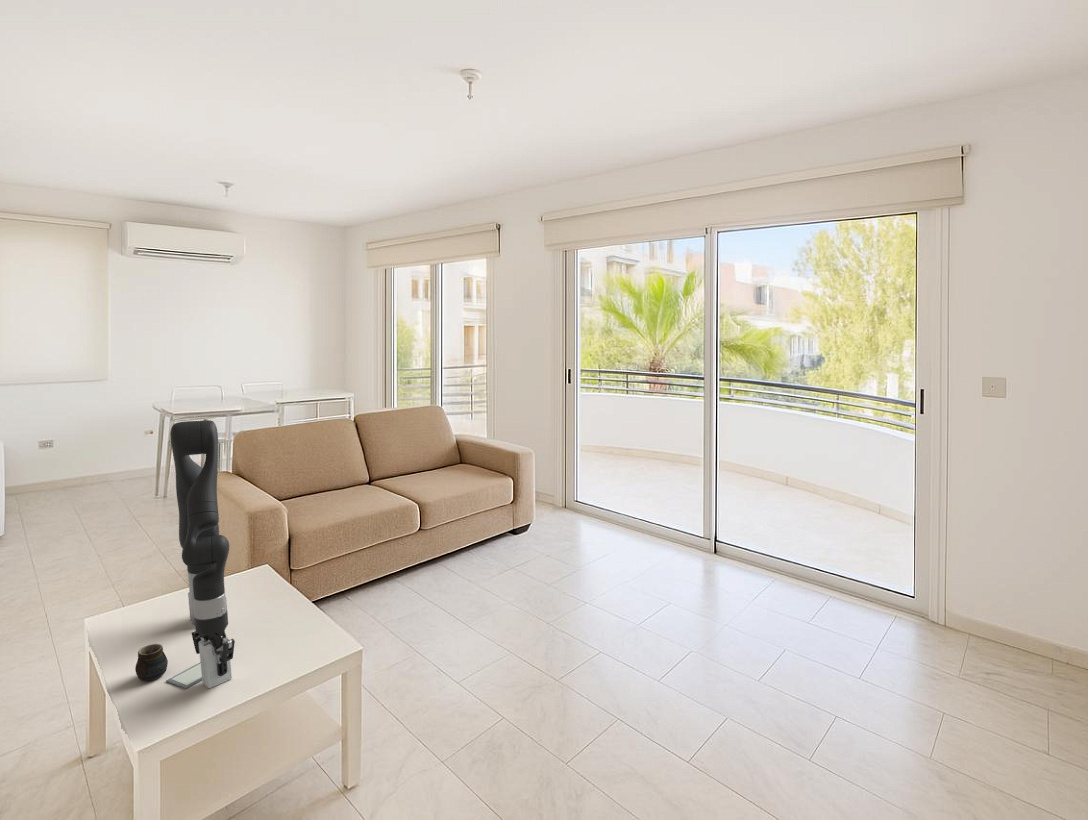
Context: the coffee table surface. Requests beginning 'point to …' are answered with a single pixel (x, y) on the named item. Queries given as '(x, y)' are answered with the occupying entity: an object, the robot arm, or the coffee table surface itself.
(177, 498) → the robot arm
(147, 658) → the mate gourd
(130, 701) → the coffee table surface
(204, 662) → the skincare box
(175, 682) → the slate gray picture frame
